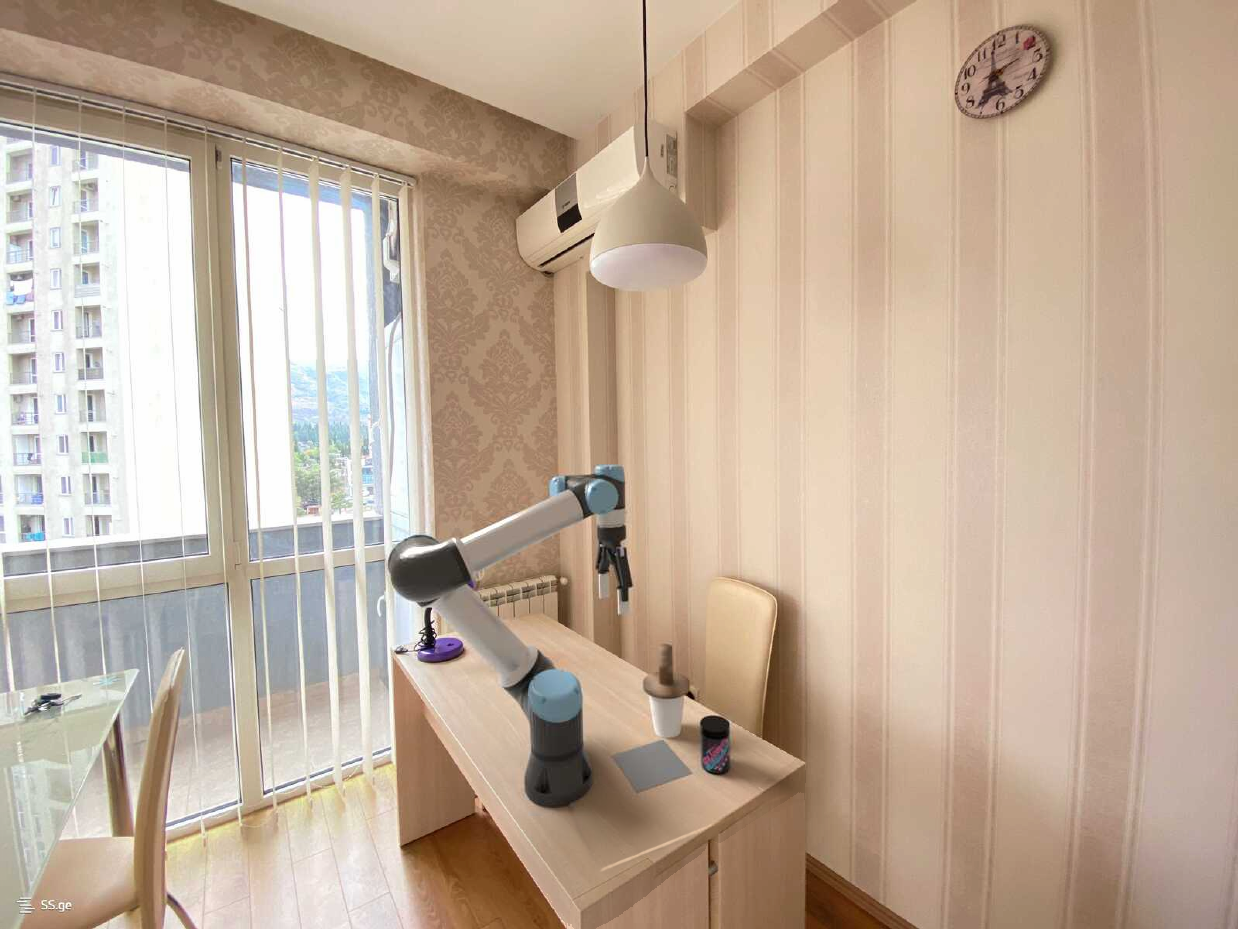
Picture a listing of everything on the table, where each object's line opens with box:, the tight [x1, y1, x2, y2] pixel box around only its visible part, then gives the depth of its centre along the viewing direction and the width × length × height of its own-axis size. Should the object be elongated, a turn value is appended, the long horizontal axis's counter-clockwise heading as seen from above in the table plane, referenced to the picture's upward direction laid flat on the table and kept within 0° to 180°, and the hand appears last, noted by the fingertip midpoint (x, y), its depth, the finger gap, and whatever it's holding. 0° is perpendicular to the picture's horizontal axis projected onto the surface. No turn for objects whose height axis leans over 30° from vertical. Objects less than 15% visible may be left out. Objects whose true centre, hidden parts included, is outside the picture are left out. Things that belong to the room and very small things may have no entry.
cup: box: [648, 695, 685, 739], centre depth 131 cm, size 9×9×12 cm
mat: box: [611, 739, 693, 794], centre depth 118 cm, size 14×14×1 cm
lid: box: [642, 643, 691, 699], centre depth 130 cm, size 12×12×10 cm
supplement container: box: [699, 714, 731, 776], centre depth 116 cm, size 7×7×10 cm
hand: (613, 605), depth 132 cm, fingers open, 13 cm apart
